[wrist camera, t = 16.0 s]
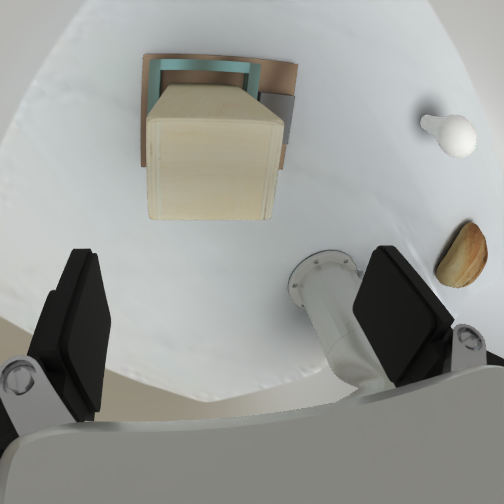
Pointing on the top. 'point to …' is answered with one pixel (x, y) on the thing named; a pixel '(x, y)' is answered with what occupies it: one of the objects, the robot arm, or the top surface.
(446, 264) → the bread roll
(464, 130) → the lightbulb
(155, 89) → the board
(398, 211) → the top surface
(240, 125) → the beige long rectangular block
